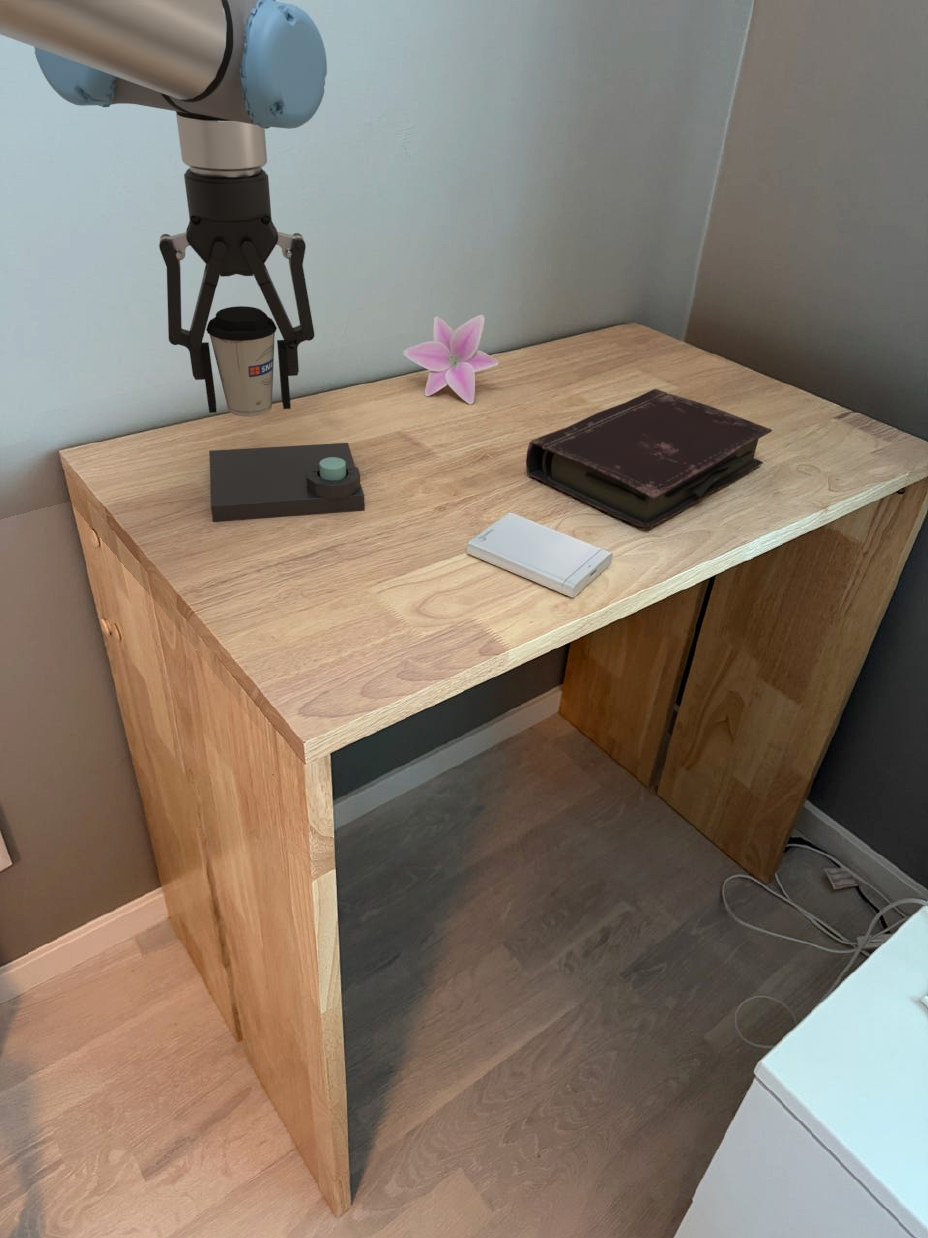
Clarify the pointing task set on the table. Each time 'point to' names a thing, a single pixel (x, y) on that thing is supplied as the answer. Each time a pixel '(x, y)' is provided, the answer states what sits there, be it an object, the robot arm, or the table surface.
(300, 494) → the scale
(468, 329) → the lily
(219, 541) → the table surface
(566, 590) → the hard drive
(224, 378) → the coffee cup
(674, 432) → the diary
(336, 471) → the button
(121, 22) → the robot arm
